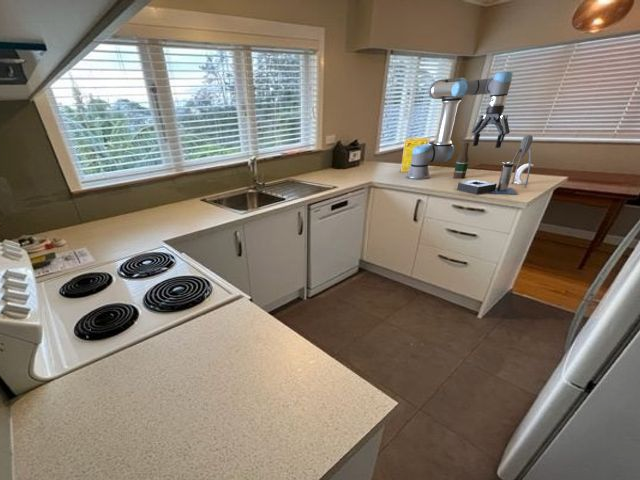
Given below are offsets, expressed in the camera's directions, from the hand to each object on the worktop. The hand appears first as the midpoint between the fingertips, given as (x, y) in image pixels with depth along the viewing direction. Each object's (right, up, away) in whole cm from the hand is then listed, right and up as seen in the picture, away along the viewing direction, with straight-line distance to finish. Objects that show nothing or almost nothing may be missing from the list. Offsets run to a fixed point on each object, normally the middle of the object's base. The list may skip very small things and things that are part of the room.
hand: (485, 146), depth 169 cm
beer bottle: (+17, -5, +48) cm, 51 cm away
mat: (+17, -23, +10) cm, 31 cm away
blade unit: (+17, -23, +10) cm, 30 cm away
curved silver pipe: (+39, -16, +22) cm, 47 cm away
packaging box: (+2, +10, +82) cm, 83 cm away
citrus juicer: (+30, -18, +18) cm, 40 cm away
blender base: (+6, -22, +16) cm, 27 cm away
